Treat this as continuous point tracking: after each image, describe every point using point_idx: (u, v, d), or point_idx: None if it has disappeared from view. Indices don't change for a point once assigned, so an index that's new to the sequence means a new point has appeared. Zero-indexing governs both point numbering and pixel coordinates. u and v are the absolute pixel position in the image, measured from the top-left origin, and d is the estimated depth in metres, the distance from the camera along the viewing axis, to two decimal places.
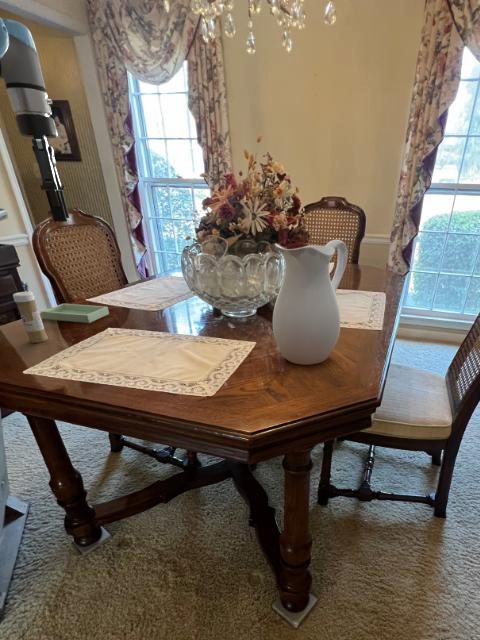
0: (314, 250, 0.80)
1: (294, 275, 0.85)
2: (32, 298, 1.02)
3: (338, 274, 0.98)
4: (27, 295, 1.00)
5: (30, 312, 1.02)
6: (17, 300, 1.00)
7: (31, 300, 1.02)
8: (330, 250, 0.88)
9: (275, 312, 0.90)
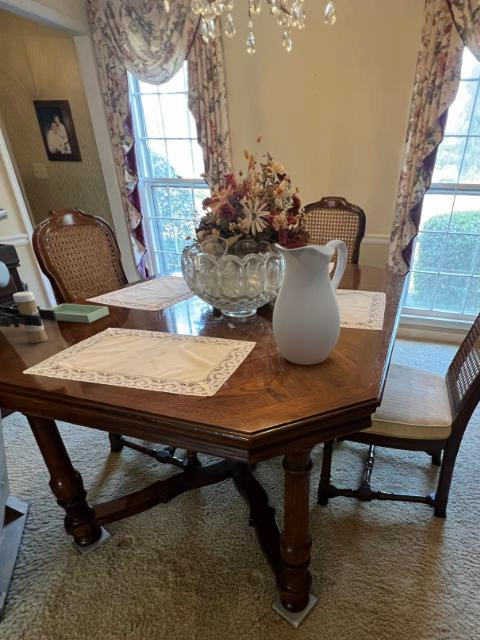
0: (314, 250, 0.80)
1: (294, 275, 0.85)
2: (32, 298, 1.02)
3: (338, 274, 0.98)
4: (27, 295, 1.00)
5: (30, 312, 1.02)
6: (17, 300, 1.00)
7: (31, 300, 1.02)
8: (330, 250, 0.88)
9: (275, 312, 0.90)
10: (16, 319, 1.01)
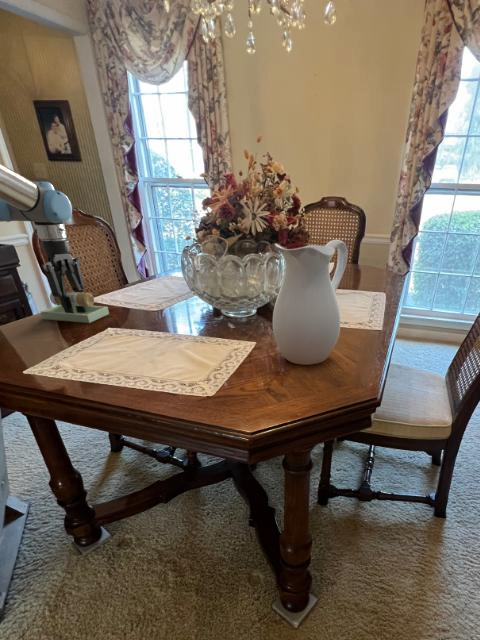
0: (314, 250, 0.80)
1: (294, 275, 0.85)
2: (59, 304, 1.26)
3: (338, 274, 0.98)
4: None
5: None
6: None
7: None
8: (330, 250, 0.88)
9: (275, 312, 0.90)
10: None
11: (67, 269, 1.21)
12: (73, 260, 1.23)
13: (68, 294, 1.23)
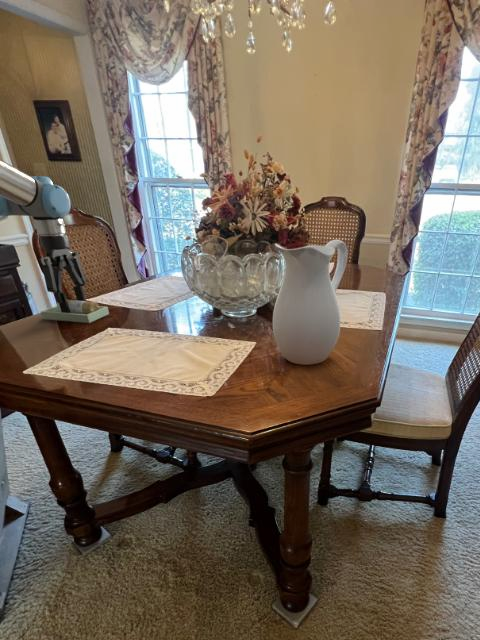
0: (314, 250, 0.80)
1: (294, 275, 0.85)
2: None
3: (338, 274, 0.98)
4: None
5: None
6: None
7: None
8: (330, 250, 0.88)
9: (275, 312, 0.90)
10: None
11: (66, 265, 1.20)
12: (72, 255, 1.23)
13: (76, 301, 1.26)
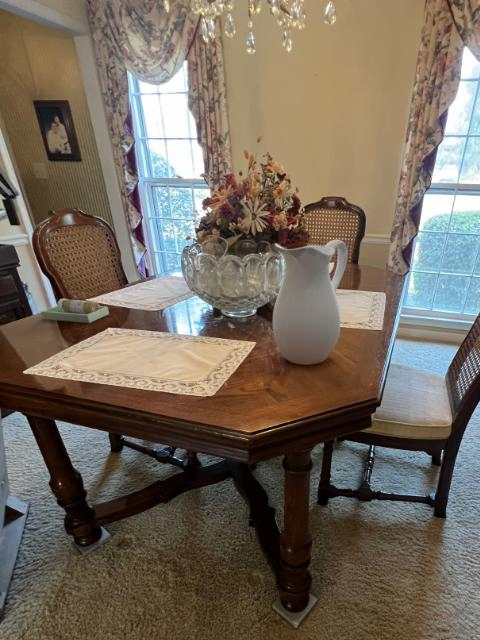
0: (314, 250, 0.80)
1: (294, 275, 0.85)
2: (63, 311, 1.28)
3: (338, 274, 0.98)
4: None
5: None
6: None
7: (65, 311, 1.28)
8: (330, 250, 0.88)
9: (275, 312, 0.90)
10: None
11: None
12: None
13: (78, 300, 1.27)
